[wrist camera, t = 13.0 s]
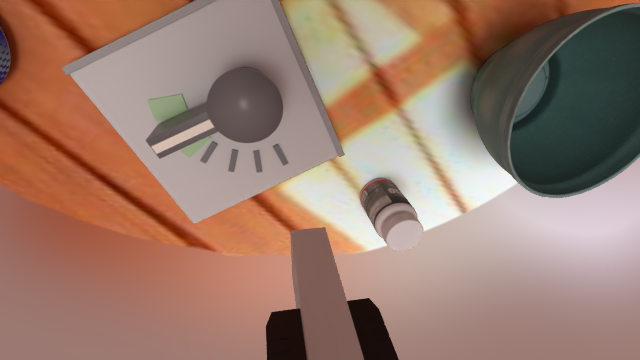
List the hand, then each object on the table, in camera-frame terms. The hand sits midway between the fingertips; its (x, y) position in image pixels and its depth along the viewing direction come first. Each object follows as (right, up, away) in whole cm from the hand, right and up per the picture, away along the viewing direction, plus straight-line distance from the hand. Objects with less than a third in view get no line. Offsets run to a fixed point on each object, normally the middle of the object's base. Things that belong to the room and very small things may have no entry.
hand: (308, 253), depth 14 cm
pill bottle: (+8, +2, +25) cm, 27 cm away
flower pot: (+22, +14, +22) cm, 34 cm away
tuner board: (-9, +10, +17) cm, 22 cm away
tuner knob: (-9, +10, +15) cm, 20 cm away
